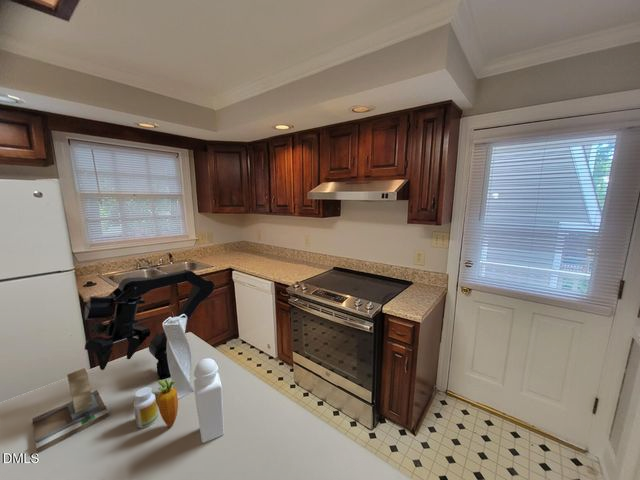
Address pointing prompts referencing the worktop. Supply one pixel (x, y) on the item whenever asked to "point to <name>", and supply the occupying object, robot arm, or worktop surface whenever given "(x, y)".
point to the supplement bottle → (145, 407)
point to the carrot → (168, 402)
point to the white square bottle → (209, 399)
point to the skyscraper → (178, 354)
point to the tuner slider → (81, 395)
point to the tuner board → (64, 424)
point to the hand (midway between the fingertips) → (115, 364)
